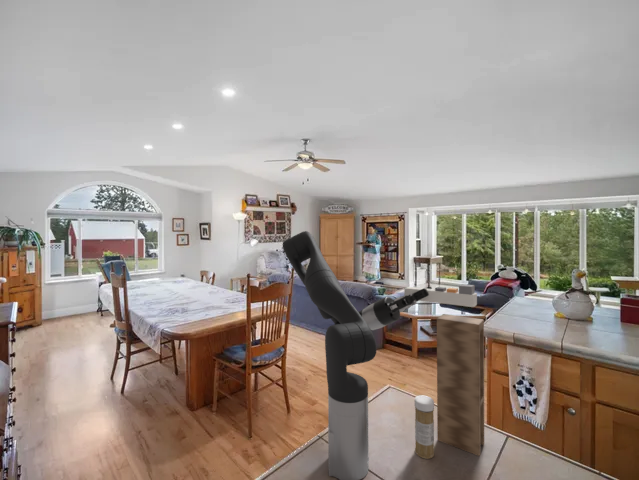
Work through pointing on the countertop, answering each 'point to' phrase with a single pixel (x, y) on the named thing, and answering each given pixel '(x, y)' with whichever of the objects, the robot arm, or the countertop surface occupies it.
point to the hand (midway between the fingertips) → (429, 290)
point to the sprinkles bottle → (424, 426)
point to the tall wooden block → (460, 382)
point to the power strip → (448, 295)
